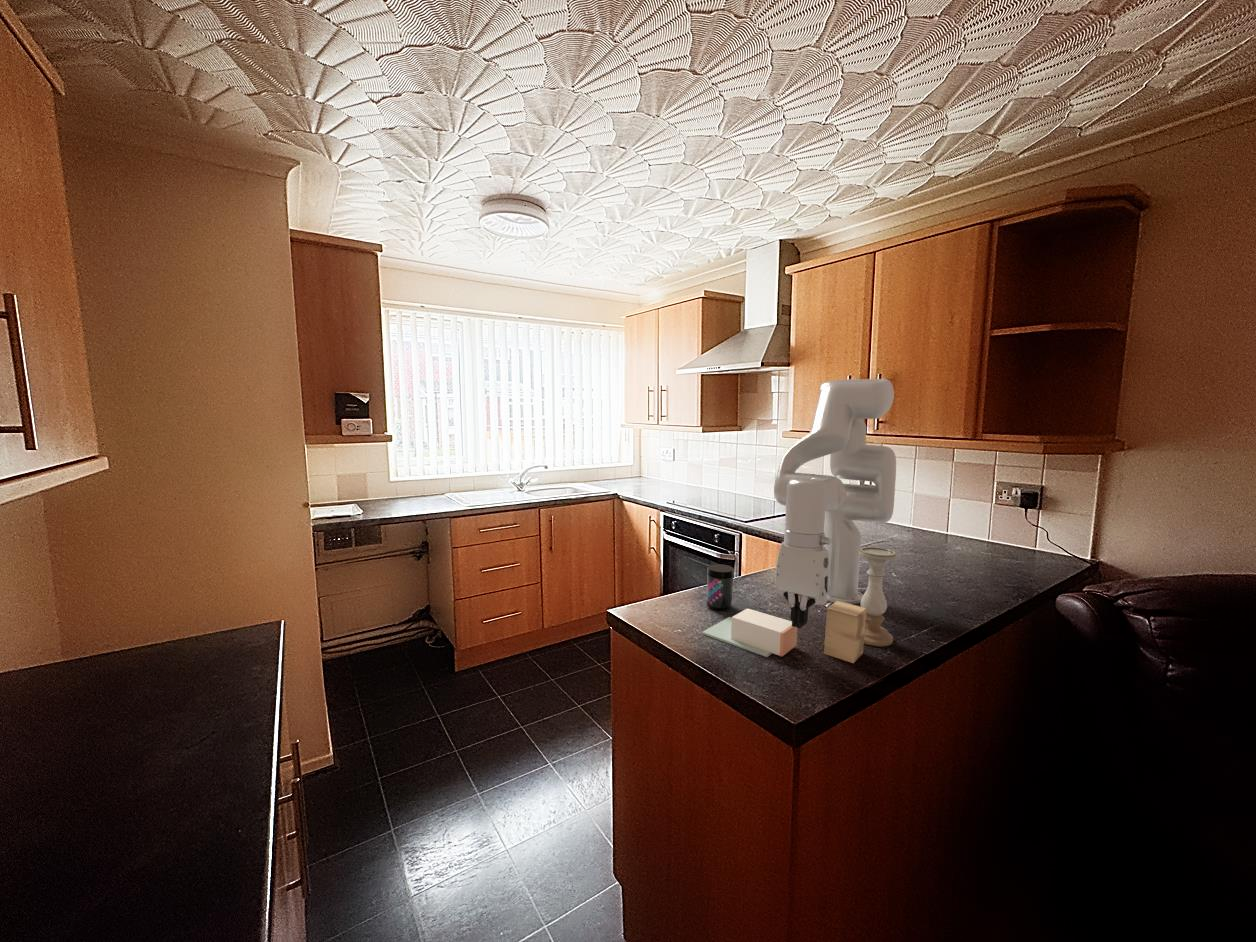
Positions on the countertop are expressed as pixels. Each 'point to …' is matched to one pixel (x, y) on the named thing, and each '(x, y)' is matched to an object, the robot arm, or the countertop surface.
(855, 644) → the oak block
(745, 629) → the cream block
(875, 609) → the candle holder
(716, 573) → the supplement container
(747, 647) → the mat
